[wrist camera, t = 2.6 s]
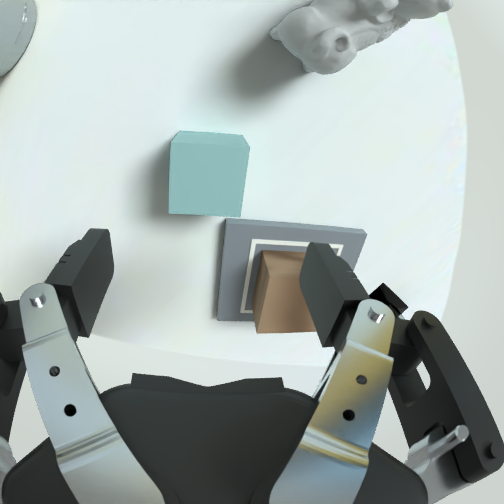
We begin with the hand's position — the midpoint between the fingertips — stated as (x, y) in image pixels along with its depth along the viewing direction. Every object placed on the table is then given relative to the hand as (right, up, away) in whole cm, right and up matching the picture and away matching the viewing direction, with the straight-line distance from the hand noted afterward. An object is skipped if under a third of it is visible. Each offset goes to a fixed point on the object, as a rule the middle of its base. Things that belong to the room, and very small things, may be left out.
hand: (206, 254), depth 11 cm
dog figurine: (+8, +19, +5) cm, 21 cm away
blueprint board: (+6, -2, +18) cm, 19 cm away
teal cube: (-2, +7, +11) cm, 13 cm away
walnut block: (+6, -3, +18) cm, 19 cm away
